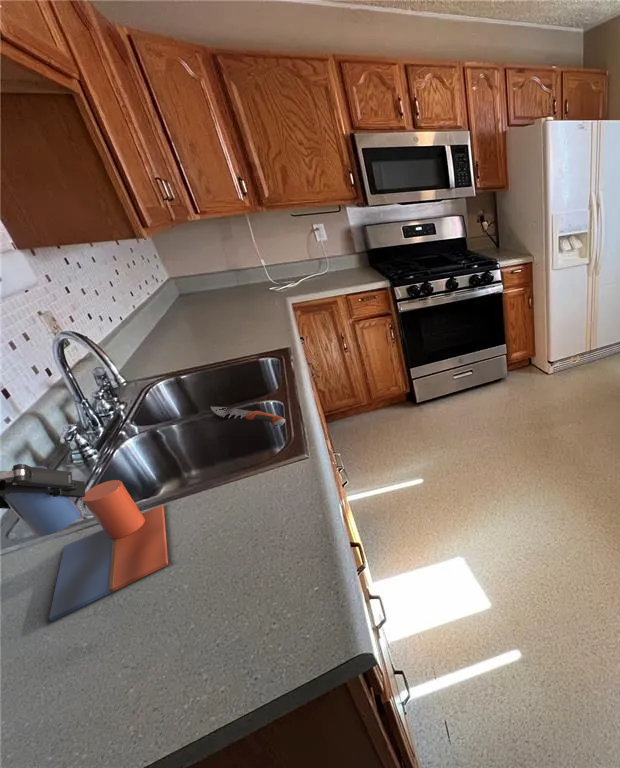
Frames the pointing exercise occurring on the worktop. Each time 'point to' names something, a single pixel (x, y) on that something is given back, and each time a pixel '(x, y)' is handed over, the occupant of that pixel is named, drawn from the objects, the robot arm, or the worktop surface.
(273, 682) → the worktop surface
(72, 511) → the blue canister
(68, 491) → the robot arm
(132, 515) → the orange canister
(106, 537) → the sorting board
